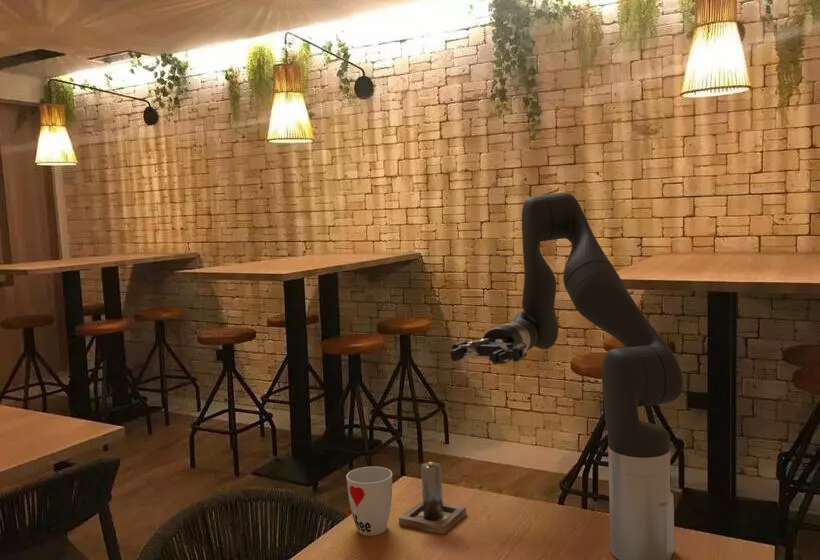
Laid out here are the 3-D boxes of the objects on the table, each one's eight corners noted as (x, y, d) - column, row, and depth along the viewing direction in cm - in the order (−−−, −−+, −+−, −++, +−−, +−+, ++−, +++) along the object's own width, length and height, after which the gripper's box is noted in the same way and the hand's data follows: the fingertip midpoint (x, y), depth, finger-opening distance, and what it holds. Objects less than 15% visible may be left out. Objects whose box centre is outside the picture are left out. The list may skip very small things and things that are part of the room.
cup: (343, 525, 125) (340, 471, 124) (384, 515, 128) (381, 463, 127) (358, 543, 117) (355, 486, 117) (402, 532, 121) (399, 477, 120)
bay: (466, 514, 127) (466, 507, 127) (443, 534, 119) (443, 527, 119) (423, 505, 132) (423, 499, 132) (399, 524, 124) (398, 517, 124)
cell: (446, 513, 126) (444, 460, 125) (437, 521, 123) (434, 467, 122) (429, 510, 128) (427, 458, 127) (419, 518, 125) (417, 464, 124)
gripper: (475, 323, 148) (439, 336, 134) (538, 325, 140) (507, 339, 127) (476, 357, 148) (441, 374, 134) (539, 362, 141) (509, 379, 127)
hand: (473, 357), depth 131 cm, fingers open, 8 cm apart
